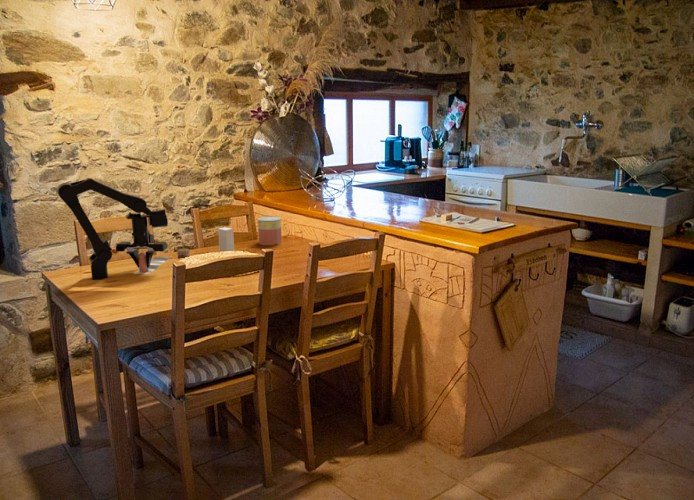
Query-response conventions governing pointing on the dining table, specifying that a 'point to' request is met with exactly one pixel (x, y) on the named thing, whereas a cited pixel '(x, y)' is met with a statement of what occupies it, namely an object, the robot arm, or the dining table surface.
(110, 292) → the dining table surface
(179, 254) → the die
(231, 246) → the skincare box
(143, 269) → the pink upright cylinder
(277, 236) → the canned food
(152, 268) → the track board
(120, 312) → the dining table surface
